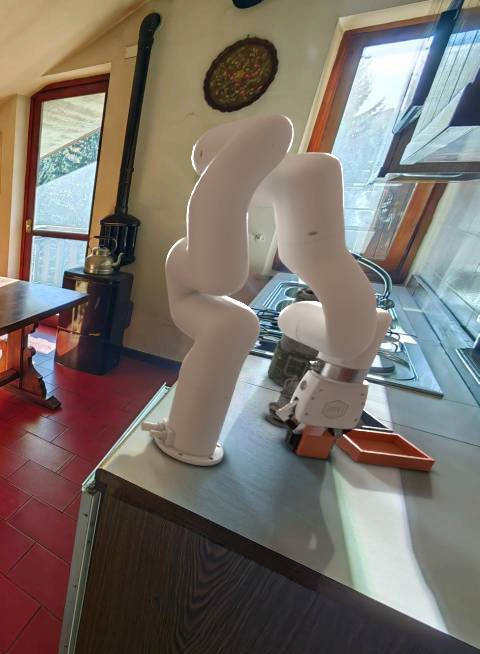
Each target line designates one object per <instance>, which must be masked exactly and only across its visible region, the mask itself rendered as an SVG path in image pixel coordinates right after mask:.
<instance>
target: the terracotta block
mask: <svg viewBox="0 0 480 654" xmlns="http://www.w3.org/2000/svg"><path fill="white" fill-rule="evenodd" d="M298 423H299V422H298ZM298 423H297V424H298ZM297 424H296V425H297ZM300 434H301V435H302V438H301V440H300V442H299V445H298V447H297V450H295V451H294V453H295V454H297V455H298V456H302V457H309V458H317V459H324V460H327V458H328V456H329V455H330V452H331V450H332V449H331V447H332V445H333V443H334V441H335V438H334V437H333V436H332V435H331V434H330V433H329V432H328V431H327V430H326V429H325V428H323V427H321V426H313V425H306V427H305V428H304V429H303V430H302V431H301V432H300ZM334 444H335V443H334ZM333 446H334V445H333ZM332 448H333V447H332ZM330 449H331V450H330Z"/></svg>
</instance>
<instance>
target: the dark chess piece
mask: <svg viewBox="0 0 480 654" xmlns="http://www.w3.org/2000/svg"><path fill="white" fill-rule="evenodd" d="M297 378H298V377H297V376H294V378H290V379H287V380H286V381H285V384H284V387H283V386H282V389H280V390H279V397H278V399H277V401H271V402H268V404H267V407H268V413H269V414H267V415H266V416H264V418H265V419H264V420H266V422H268V423H269V424H271V425H273V426H276V427H279V428H283V429H284V428H285V429H289V427H288V426H287V425H286V423H285V422H284V421H283V420H282V419H281V418H280V417H279V416H278V415H277V414H276V412H277V411H278V410H280V409H281V408H283V407H284V406H286V405H288V404H289V403H290V401H291V398H292V396H293V394H294V392H295V390H296V388H297V386H298V385H299V383H300V381H299V380H298V379H297ZM294 415H295V414H292V413H291V414H290V415H289V416H288V417H289V418H290V419H291V418H292V417H293V416H294Z"/></svg>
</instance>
